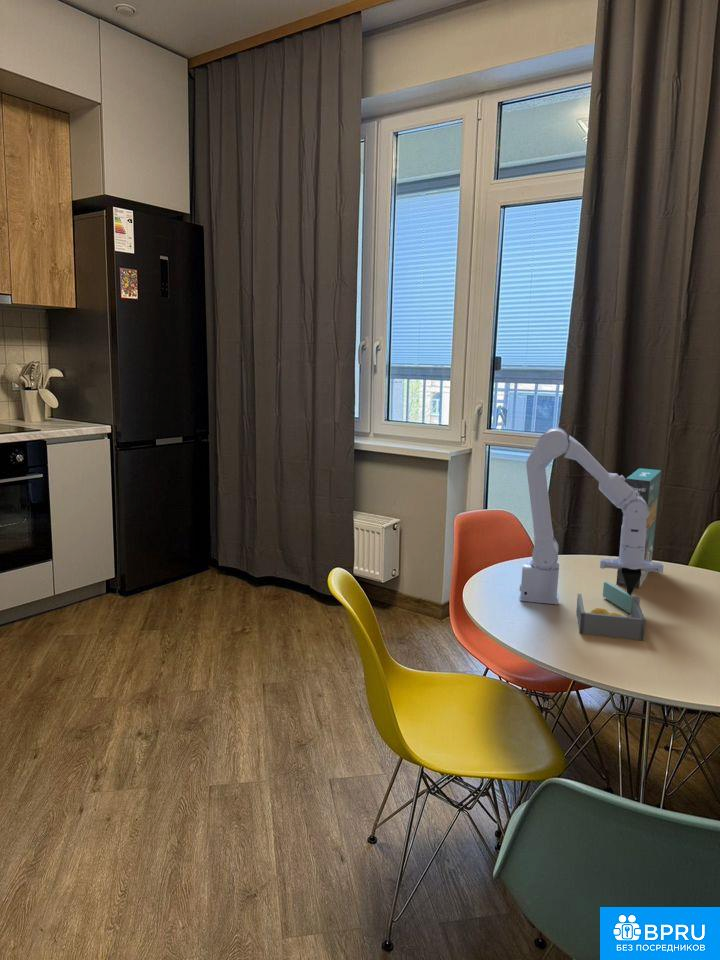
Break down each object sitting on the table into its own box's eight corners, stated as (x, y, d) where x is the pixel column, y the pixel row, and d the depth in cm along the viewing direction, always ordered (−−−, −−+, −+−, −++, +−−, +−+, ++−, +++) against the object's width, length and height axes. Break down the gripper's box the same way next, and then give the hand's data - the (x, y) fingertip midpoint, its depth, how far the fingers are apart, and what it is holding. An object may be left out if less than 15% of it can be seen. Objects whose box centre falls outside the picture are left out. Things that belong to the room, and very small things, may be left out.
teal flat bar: (639, 616, 164) (641, 598, 163) (633, 616, 163) (635, 599, 163) (607, 596, 177) (608, 580, 176) (601, 596, 177) (603, 580, 176)
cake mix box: (629, 565, 207) (639, 468, 202) (651, 568, 204) (661, 470, 198) (616, 584, 188) (626, 478, 183) (639, 588, 185) (650, 480, 180)
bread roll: (619, 637, 152) (621, 620, 152) (581, 627, 158) (582, 610, 157) (632, 627, 159) (634, 610, 158) (594, 617, 164) (596, 601, 164)
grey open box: (579, 633, 154) (581, 613, 153) (575, 608, 169) (577, 590, 168) (649, 641, 150) (651, 620, 149) (639, 615, 165) (641, 597, 164)
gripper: (602, 547, 165) (599, 600, 167) (667, 551, 161) (662, 605, 164) (600, 539, 171) (597, 591, 174) (662, 543, 168) (657, 596, 170)
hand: (628, 597), depth 169 cm, fingers closed, pressing on teal flat bar
